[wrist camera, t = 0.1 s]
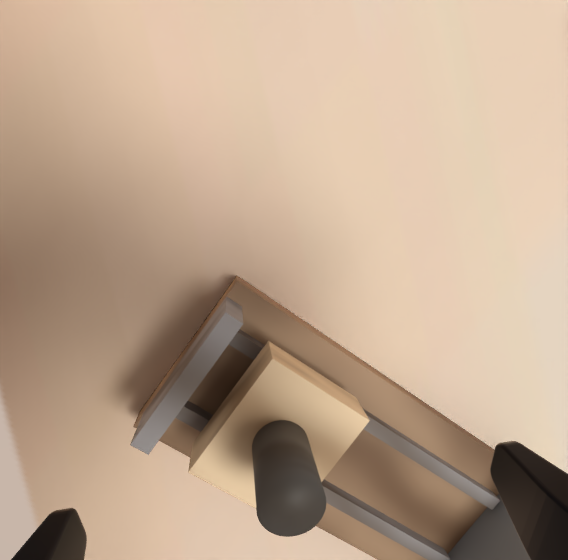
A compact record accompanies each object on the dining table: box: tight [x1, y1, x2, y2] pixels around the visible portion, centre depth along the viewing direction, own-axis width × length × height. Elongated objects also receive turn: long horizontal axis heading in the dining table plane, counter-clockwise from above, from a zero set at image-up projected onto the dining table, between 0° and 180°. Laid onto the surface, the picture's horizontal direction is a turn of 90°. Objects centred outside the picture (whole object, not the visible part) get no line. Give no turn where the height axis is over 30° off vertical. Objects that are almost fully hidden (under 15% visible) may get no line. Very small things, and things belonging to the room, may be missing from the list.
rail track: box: [130, 276, 500, 560], centre depth 24 cm, size 10×22×4 cm, turn 54°
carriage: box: [188, 341, 370, 536], centre depth 19 cm, size 7×6×6 cm
